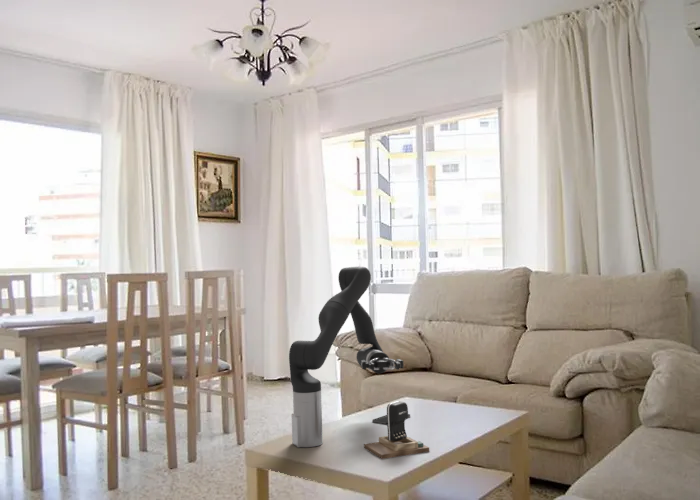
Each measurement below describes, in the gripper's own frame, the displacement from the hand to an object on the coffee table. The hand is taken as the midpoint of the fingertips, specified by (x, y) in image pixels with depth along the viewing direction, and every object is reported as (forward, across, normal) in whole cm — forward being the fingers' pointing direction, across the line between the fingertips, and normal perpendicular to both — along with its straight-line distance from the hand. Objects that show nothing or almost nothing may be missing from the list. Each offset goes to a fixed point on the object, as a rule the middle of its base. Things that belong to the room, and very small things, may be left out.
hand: (385, 366), depth 209 cm
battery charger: (+14, +1, +21) cm, 25 cm away
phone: (-24, +6, +23) cm, 34 cm away
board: (+14, 0, +24) cm, 28 cm away
